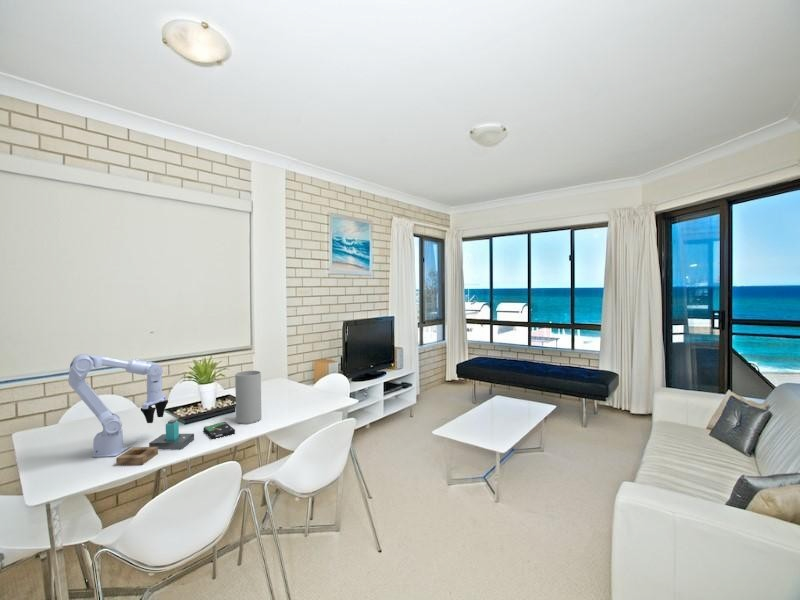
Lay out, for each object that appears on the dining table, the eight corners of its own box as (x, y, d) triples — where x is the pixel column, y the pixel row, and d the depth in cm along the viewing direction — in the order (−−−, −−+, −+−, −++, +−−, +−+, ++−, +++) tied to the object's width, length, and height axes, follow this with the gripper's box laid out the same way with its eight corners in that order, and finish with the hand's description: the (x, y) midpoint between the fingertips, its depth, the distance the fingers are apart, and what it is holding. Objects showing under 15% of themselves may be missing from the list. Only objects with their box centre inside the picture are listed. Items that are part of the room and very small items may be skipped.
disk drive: (235, 435, 178) (225, 426, 189) (235, 429, 178) (224, 421, 189) (212, 441, 171) (202, 432, 182) (212, 435, 171) (202, 426, 182)
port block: (149, 450, 161) (149, 442, 160) (162, 440, 170) (162, 433, 170) (182, 449, 161) (182, 441, 161) (194, 439, 171) (193, 432, 171)
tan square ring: (116, 465, 146) (116, 458, 146) (133, 454, 156) (133, 447, 156) (142, 464, 147) (142, 457, 147) (157, 453, 157) (157, 446, 157)
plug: (166, 446, 164) (165, 422, 164) (170, 443, 168) (170, 419, 167) (174, 446, 164) (173, 422, 164) (178, 443, 168) (178, 419, 167)
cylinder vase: (255, 424, 190) (254, 376, 190) (231, 424, 191) (230, 375, 190) (265, 416, 203) (264, 370, 202) (243, 415, 203) (242, 370, 203)
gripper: (153, 394, 161) (154, 425, 161) (172, 385, 175) (173, 414, 176) (136, 394, 160) (137, 425, 161) (157, 386, 175) (158, 414, 175)
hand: (155, 419), depth 168 cm, fingers open, 7 cm apart
